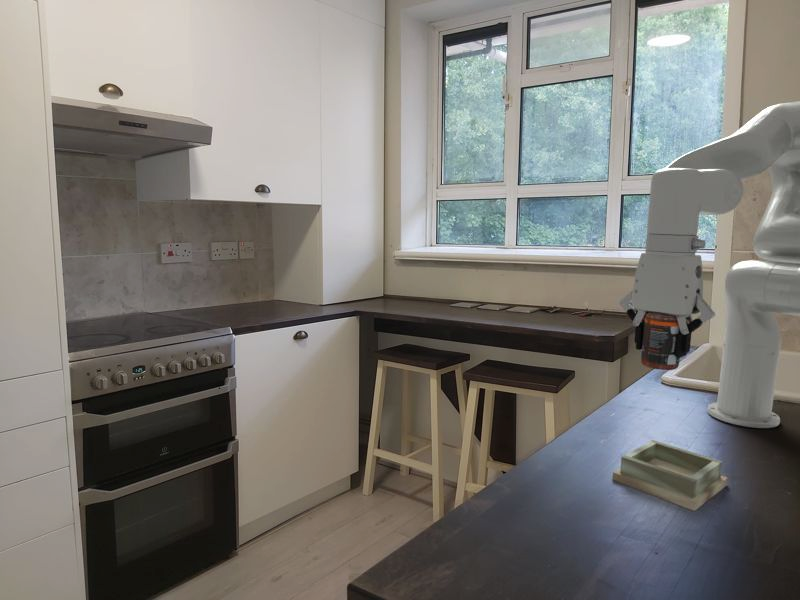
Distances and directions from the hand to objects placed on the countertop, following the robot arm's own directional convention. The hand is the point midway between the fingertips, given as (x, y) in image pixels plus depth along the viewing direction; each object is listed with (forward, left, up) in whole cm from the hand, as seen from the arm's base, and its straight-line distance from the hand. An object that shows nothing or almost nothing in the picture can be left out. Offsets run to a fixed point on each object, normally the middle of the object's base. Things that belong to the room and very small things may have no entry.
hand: (660, 351), depth 99 cm
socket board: (+11, +8, -17) cm, 22 cm away
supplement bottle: (0, 0, -3) cm, 3 cm away
